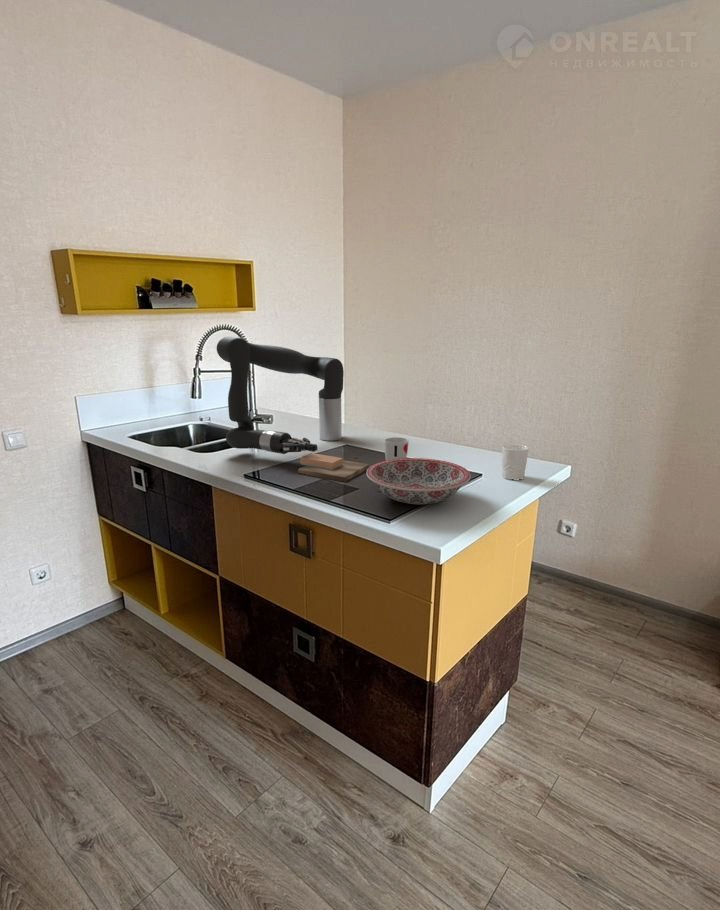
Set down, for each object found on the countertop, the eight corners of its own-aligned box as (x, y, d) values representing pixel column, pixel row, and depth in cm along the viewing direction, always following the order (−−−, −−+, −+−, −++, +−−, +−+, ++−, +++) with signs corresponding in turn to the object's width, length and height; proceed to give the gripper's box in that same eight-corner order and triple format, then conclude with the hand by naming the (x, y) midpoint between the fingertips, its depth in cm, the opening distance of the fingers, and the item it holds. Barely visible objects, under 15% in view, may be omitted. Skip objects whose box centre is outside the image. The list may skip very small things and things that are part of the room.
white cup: (521, 482, 163) (524, 451, 160) (497, 478, 167) (499, 448, 164) (528, 476, 169) (531, 446, 166) (504, 472, 173) (506, 443, 170)
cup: (391, 473, 172) (392, 444, 169) (379, 467, 179) (379, 438, 176) (412, 470, 176) (413, 441, 173) (399, 464, 182) (400, 436, 180)
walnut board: (324, 461, 186) (324, 457, 185) (369, 468, 177) (369, 464, 177) (298, 473, 172) (298, 469, 172) (344, 481, 164) (344, 477, 163)
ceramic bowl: (469, 522, 133) (470, 492, 131) (356, 514, 138) (356, 485, 136) (469, 485, 160) (470, 460, 158) (375, 479, 166) (376, 455, 164)
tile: (311, 453, 182) (342, 458, 176) (311, 459, 183) (342, 465, 176) (300, 457, 177) (332, 462, 170) (300, 464, 177) (332, 469, 171)
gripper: (262, 435, 178) (304, 441, 170) (286, 427, 189) (326, 433, 181) (264, 456, 180) (305, 463, 172) (287, 448, 191) (327, 454, 183)
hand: (316, 448), depth 176 cm, fingers closed
